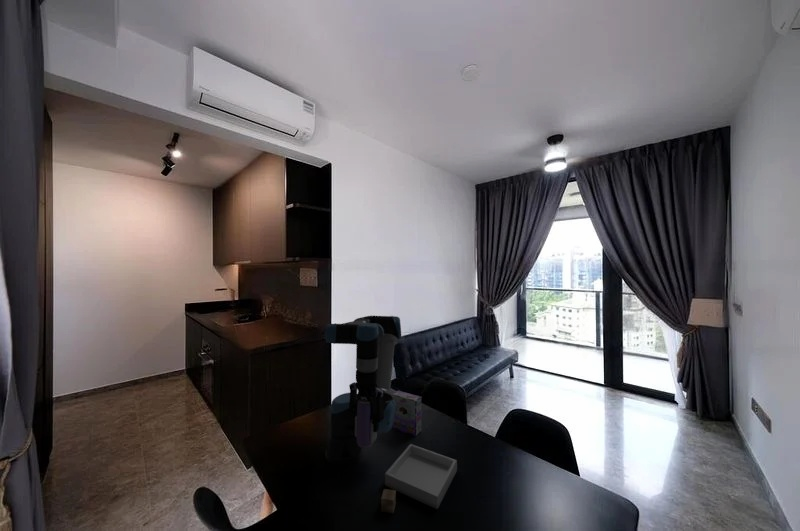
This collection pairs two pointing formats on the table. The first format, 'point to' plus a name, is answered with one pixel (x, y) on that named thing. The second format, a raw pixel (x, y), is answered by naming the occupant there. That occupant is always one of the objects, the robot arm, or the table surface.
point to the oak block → (388, 501)
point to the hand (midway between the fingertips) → (365, 437)
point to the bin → (422, 475)
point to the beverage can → (363, 423)
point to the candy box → (407, 413)
